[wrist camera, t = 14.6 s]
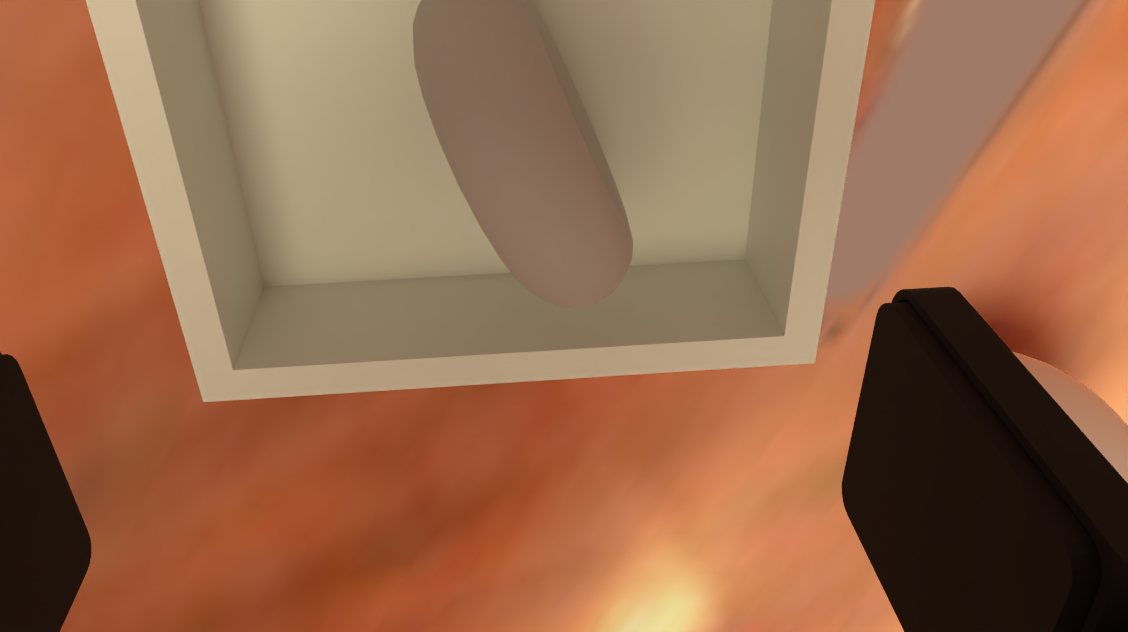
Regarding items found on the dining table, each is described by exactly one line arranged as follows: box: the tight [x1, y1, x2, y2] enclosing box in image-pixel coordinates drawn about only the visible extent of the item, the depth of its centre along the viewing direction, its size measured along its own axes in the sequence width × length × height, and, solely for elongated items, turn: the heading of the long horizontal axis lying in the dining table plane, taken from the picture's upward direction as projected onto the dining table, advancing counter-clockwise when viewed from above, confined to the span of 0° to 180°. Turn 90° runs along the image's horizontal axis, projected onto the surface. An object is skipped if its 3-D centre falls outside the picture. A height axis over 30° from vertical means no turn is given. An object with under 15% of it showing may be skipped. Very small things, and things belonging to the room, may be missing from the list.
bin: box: [86, 0, 875, 402], centre depth 27 cm, size 20×20×6 cm
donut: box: [413, 0, 633, 308], centre depth 26 cm, size 10×3×10 cm, turn 24°
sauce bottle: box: [1013, 352, 1128, 483], centre depth 32 cm, size 8×8×18 cm
